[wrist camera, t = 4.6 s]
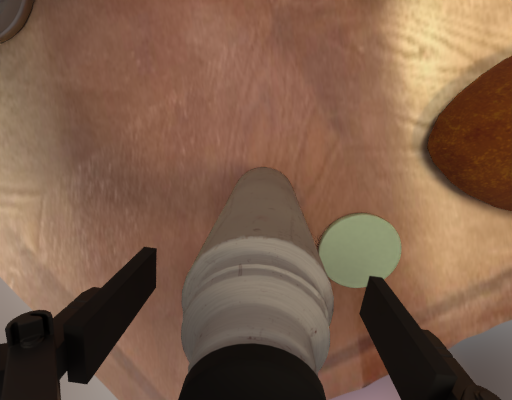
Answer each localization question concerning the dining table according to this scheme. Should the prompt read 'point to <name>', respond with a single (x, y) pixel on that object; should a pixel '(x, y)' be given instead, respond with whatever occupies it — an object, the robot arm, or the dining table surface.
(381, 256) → the trivet
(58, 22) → the dining table surface
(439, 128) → the bread
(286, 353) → the thermos bottle
